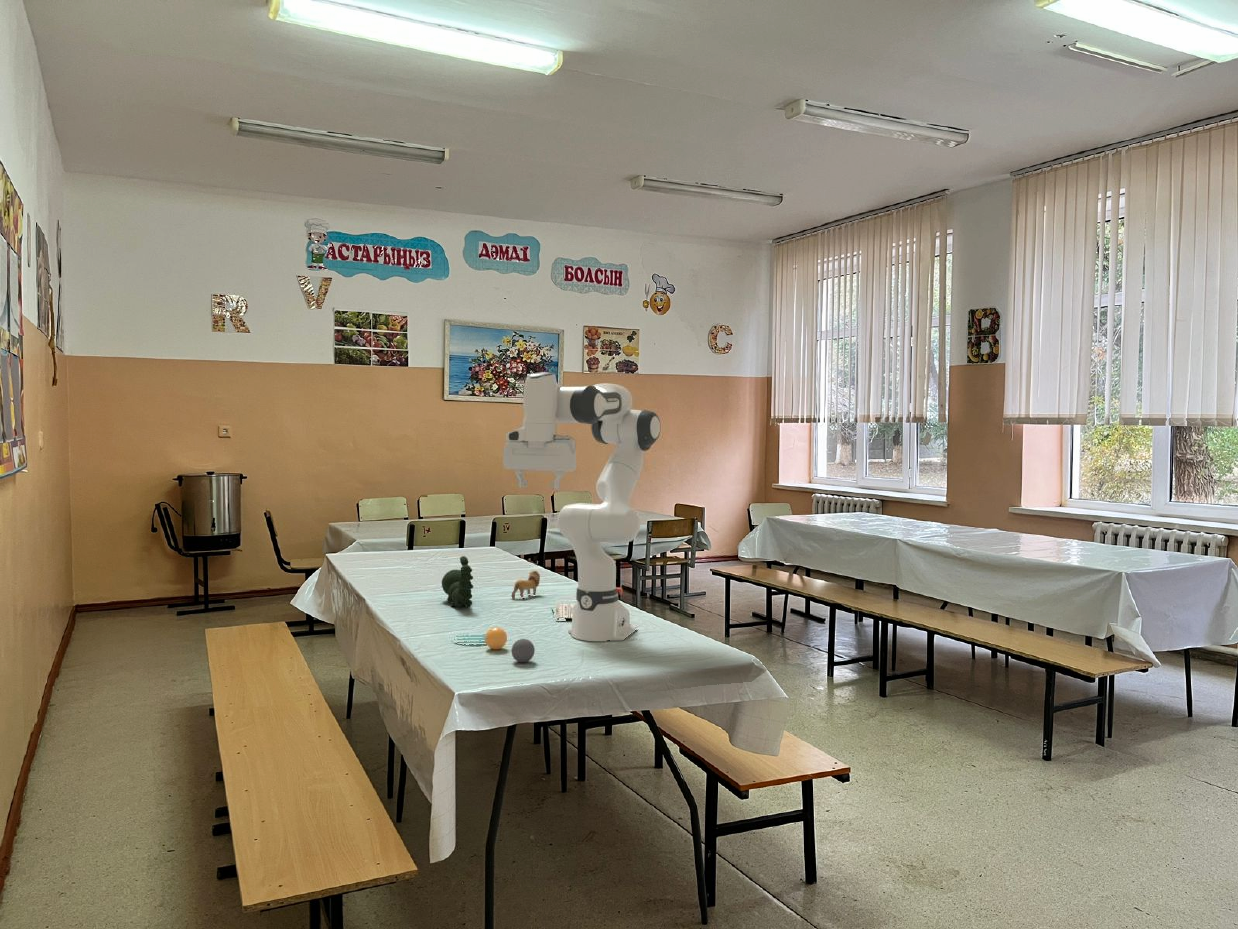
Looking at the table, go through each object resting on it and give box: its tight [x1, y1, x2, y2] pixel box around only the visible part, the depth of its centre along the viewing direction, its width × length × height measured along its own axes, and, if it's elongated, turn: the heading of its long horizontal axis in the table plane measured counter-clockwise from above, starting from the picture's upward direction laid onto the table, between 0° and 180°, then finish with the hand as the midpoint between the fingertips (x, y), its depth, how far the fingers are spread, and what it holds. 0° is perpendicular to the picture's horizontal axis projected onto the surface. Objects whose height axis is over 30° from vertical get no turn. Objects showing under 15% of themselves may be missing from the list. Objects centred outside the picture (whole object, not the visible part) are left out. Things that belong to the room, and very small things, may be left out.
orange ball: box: [485, 626, 508, 650], centre depth 229 cm, size 6×6×6 cm
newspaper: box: [555, 603, 574, 620], centre depth 273 cm, size 23×12×2 cm, turn 4°
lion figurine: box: [511, 570, 541, 600], centre depth 299 cm, size 15×5×9 cm, turn 151°
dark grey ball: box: [511, 638, 536, 663], centre depth 216 cm, size 6×6×6 cm
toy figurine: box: [441, 555, 474, 607], centre depth 286 cm, size 9×19×25 cm
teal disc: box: [454, 634, 487, 647], centre depth 238 cm, size 14×14×1 cm
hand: (539, 488), depth 216 cm, fingers open, 8 cm apart
